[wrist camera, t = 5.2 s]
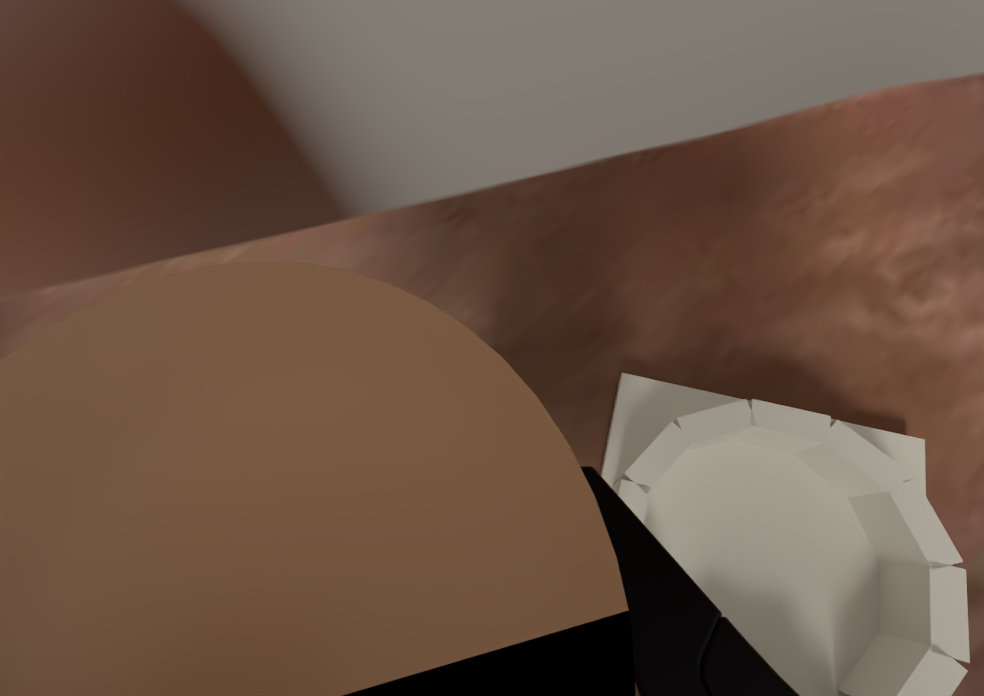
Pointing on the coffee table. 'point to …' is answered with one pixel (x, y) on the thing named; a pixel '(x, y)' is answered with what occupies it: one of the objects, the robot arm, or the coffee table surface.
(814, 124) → the coffee table surface
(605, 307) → the coffee table surface
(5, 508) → the knob on notched ring
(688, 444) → the housing
